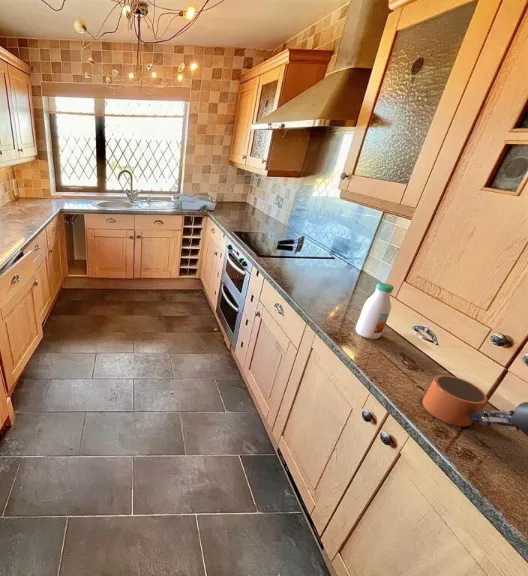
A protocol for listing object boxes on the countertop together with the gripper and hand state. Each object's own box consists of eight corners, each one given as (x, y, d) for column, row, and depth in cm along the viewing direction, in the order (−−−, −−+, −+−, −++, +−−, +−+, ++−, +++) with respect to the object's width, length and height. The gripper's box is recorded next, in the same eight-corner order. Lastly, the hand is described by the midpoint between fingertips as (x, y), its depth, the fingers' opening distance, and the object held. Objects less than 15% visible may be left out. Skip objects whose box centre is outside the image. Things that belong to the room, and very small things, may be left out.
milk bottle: (362, 339, 110) (381, 290, 102) (350, 327, 117) (367, 280, 108) (385, 339, 110) (405, 290, 101) (371, 327, 117) (389, 280, 108)
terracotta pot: (472, 410, 82) (487, 387, 78) (472, 433, 76) (488, 410, 72) (424, 391, 88) (435, 369, 85) (420, 411, 82) (432, 388, 78)
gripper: (588, 403, 60) (494, 401, 76) (518, 401, 60) (440, 400, 77) (606, 445, 57) (505, 434, 74) (533, 444, 58) (449, 432, 74)
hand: (472, 416), depth 75 cm, fingers closed
